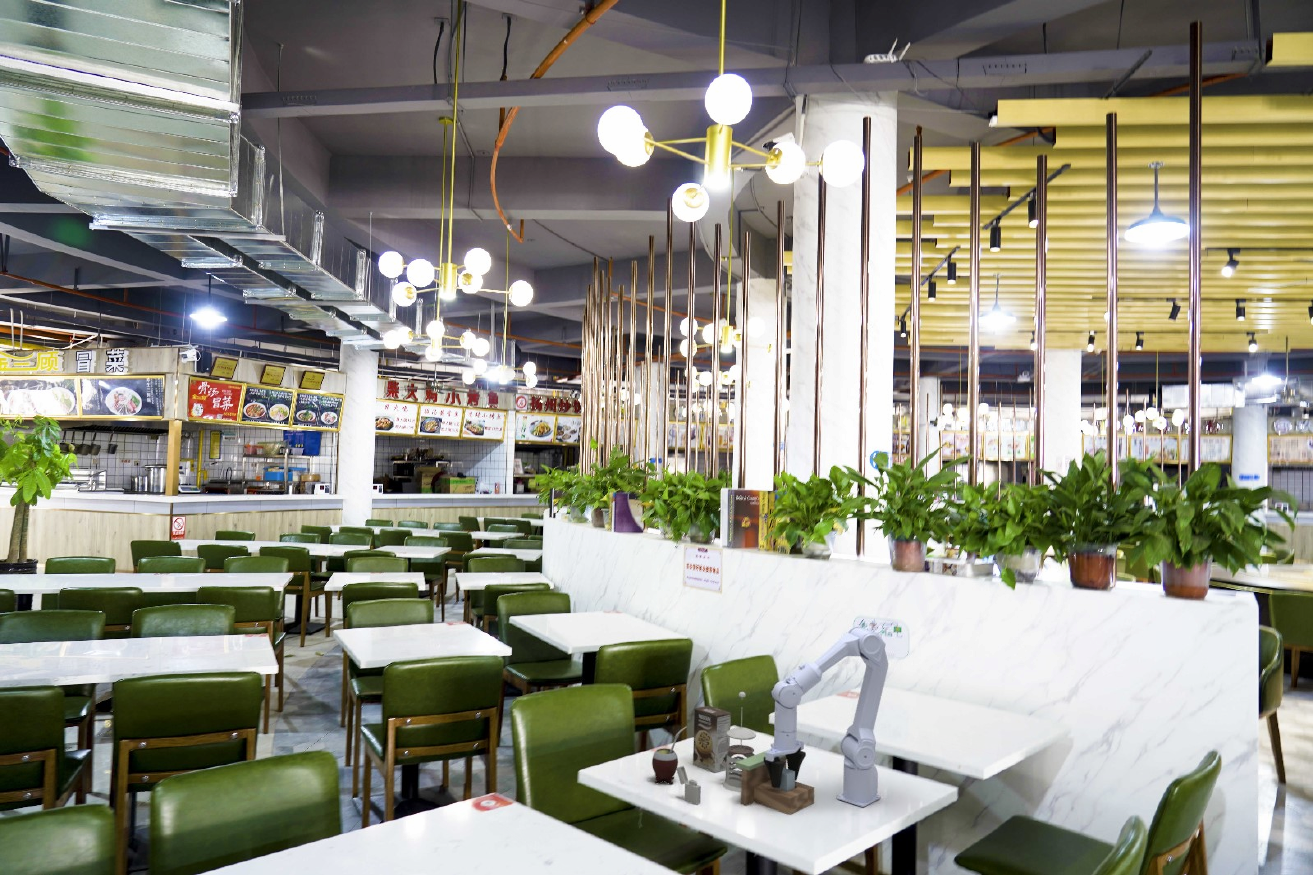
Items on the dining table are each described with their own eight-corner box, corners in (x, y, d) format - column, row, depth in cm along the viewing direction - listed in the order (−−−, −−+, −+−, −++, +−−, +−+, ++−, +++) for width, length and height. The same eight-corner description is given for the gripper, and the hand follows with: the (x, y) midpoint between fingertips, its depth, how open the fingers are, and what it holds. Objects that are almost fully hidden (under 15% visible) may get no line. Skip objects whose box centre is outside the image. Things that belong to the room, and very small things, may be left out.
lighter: (700, 803, 211) (701, 771, 212) (696, 805, 210) (697, 772, 211) (679, 795, 216) (680, 764, 217) (675, 797, 215) (676, 765, 215)
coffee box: (691, 764, 240) (693, 708, 241) (707, 760, 244) (708, 704, 245) (714, 773, 233) (716, 715, 234) (730, 768, 238) (731, 711, 239)
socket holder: (775, 784, 226) (776, 747, 226) (821, 799, 216) (822, 760, 217) (734, 801, 213) (735, 762, 213) (781, 818, 203) (782, 777, 203)
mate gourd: (646, 779, 227) (648, 724, 228) (668, 774, 232) (670, 719, 233) (663, 788, 221) (665, 731, 222) (686, 782, 226) (687, 726, 227)
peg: (783, 795, 216) (783, 767, 216) (794, 799, 213) (795, 771, 214) (775, 798, 213) (775, 771, 213) (786, 802, 211) (787, 774, 211)
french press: (756, 793, 219) (758, 697, 220) (713, 789, 221) (715, 694, 223) (759, 780, 229) (761, 689, 230) (717, 776, 231) (720, 685, 232)
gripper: (788, 720, 222) (787, 772, 222) (756, 731, 212) (755, 785, 211) (810, 726, 217) (809, 779, 217) (779, 738, 207) (778, 793, 206)
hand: (784, 783), depth 214 cm, fingers open, 7 cm apart
